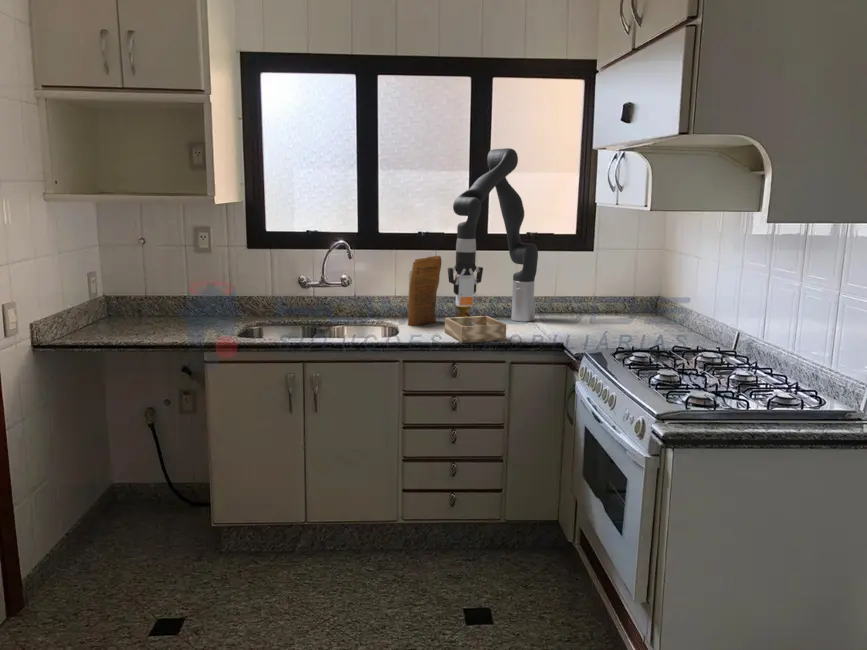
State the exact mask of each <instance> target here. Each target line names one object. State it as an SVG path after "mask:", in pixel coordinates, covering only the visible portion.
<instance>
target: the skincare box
mask: <svg viewBox="0 0 867 650" xmlns="http://www.w3.org/2000/svg"><path fill="white" fill-rule="evenodd" d="M457 276H459V275H457ZM474 276H475V275H474ZM474 276H471V275H463V276H460V279H459V284H458V285H459V294H458V295H456V294H455V306H456V305H457V306H459V307H460V306H470V307H474V298H475V297H474V295H475V294H474Z"/></svg>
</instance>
